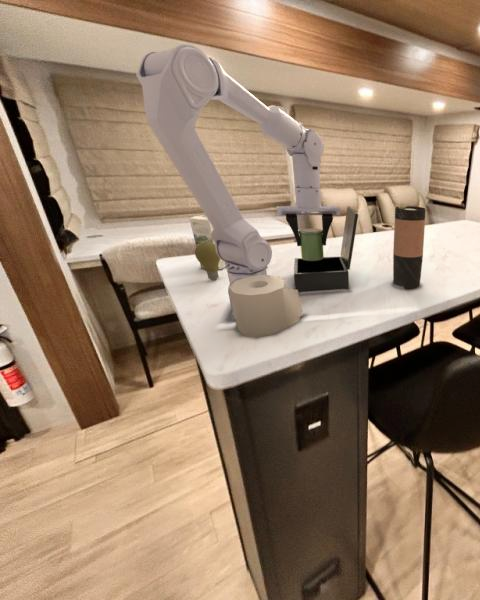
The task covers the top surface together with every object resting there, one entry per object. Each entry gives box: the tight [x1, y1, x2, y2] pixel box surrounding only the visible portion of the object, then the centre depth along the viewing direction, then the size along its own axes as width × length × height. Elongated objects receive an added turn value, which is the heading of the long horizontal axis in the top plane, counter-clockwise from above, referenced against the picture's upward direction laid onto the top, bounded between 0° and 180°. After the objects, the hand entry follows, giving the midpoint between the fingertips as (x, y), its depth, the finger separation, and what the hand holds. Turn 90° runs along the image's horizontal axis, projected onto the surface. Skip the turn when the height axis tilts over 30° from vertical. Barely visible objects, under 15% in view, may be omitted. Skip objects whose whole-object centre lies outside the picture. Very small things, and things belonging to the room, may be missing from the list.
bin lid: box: [340, 205, 359, 271], centre depth 78 cm, size 13×14×1 cm
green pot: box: [298, 227, 325, 261], centre depth 77 cm, size 6×6×7 cm
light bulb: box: [194, 242, 220, 281], centre depth 79 cm, size 6×6×10 cm
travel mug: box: [392, 205, 426, 290], centre depth 79 cm, size 8×8×20 cm
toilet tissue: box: [228, 274, 304, 338], centre depth 60 cm, size 9×13×9 cm
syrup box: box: [189, 214, 227, 270], centre depth 88 cm, size 6×6×14 cm
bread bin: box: [293, 256, 350, 293], centre depth 80 cm, size 13×14×5 cm
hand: (312, 244), depth 77 cm, fingers closed on green pot, 5 cm apart
